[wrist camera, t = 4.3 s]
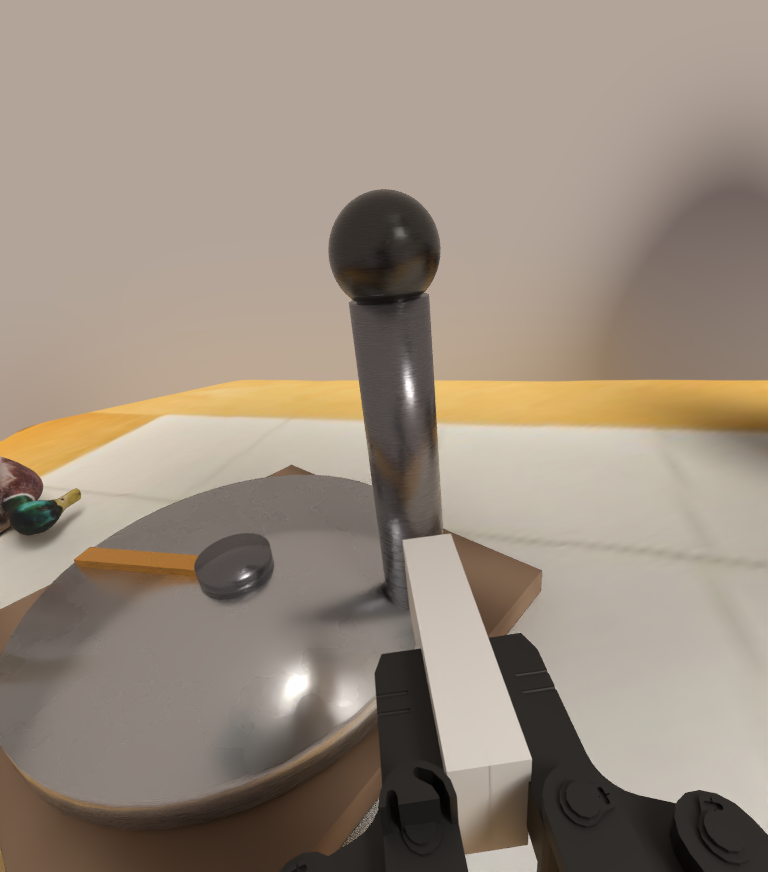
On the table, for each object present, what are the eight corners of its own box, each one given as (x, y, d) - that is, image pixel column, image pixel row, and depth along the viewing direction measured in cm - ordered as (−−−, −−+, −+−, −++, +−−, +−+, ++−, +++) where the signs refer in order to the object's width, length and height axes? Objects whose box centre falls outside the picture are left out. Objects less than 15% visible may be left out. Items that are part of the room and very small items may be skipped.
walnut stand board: (294, 479, 42) (285, 435, 40) (540, 590, 26) (544, 526, 24) (-33, 650, 27) (-73, 592, 25) (89, 1166, 11) (8, 1110, 9)
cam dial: (-123, 768, 19) (-571, 277, 11) (193, 490, 38) (114, 242, 30) (427, 912, 13) (323, 106, 5) (469, 500, 32) (460, 197, 25)
